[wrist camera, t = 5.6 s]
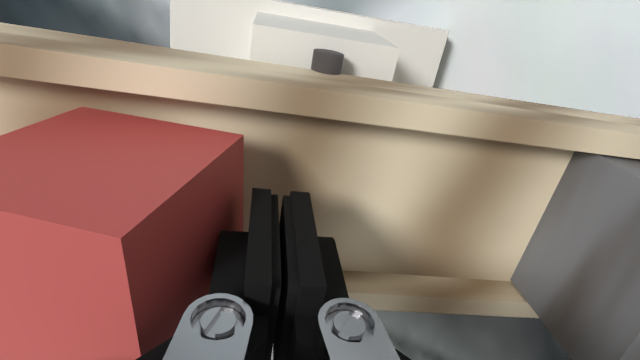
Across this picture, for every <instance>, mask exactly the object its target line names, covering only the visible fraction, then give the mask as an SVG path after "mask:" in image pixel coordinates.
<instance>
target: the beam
mask: <svg viewBox="0 0 640 360" xmlns="http://www.w3.org/2000/svg"><path fill="white" fill-rule="evenodd" d="M343 59H344V54H342V53H340V52H337V51H333V50H327V49H314V51H313V57H312V64H311V69H306V68H299V67H292V66H286V65H279V64H272V63H266V62H259V61H253V60H246V59H239V58H233V57H226V56H219V55H213V54H206V53H199V52H193V51H186V50H179V49H173V48H166V47H159V46H153V45H146V44H140V43H133V42H126V41H120V40H113V39H106V38H100V37H93V36H86V35H80V34H73V33H66V32H60V31H53V30H46V29H40V28H33V27H26V26H20V25H13V24H7V23H0V136H1V135H3V134H6V133H9V132H12V131H15V130H17V129H20V128H23V127H26V126H29V125H31V124H34V123H37V122H40V121H43V120H45V119H48V118H51V117H54V116H57V115H59V114H62V113H65V112H68V111H71V110H74V109H76V108H79V107H82V106H83V107H88V108H94V109H100V110H105V111H111V112H117V113H122V114H128V115H134V116H139V117H145V118H151V119H156V120H162V121H168V122H173V123H179V124H185V125H190V126H196V127H202V128H207V129H213V130H219V131H224V132H230V133H236V134H242V135H244V193H243V232H248V231H249V220H250V209H251V198H252V188H261V189H271V194H275V195H278V204H279V222H280V214H281V207H282V199H283V195H287V196H290V192H291V191H298V192H309V193H310V197H311V203H312V208H313V214H314V219H315V225H316V230H317V236H321V237H333V238H334V240H335V243H336V247H337V251H338V255H339V259H340V263H341V267H342V271H343V276H344V280H345V284H346V288H347V292H348V296H349V298H351V299H355V300H358V301H361V302H362V303H364V304H366V305H368V306H369V307H370V308H371V309H373V310H382V311H402V312H422V313H443V314H463V315H484V316H504V317H524V318H540V319H541V321H542V322H543V323H544V325H545V326H546V327H547V329H548V330H549V331H550V332H551V334H552V335H553V336H554V338H555V339H556V340H557V342H558V343H559V344H560V346H561V347H562V348H563V350H564V351H565V352H566V354H567V355H568V356H569V357H570V359H571V360H640V119H638V118H631V117H625V116H618V115H612V114H605V113H598V112H592V111H585V110H578V109H572V108H565V107H558V106H552V105H545V104H538V103H532V102H525V101H518V100H512V99H505V98H499V97H492V96H485V95H479V94H472V93H465V92H459V91H452V90H445V89H439V88H432V87H425V86H419V85H412V84H405V83H399V82H392V81H385V80H379V79H372V78H366V77H359V76H352V75H346V74H341V70H342V64H343Z"/></svg>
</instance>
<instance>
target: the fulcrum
mask: <svg viewBox="0 0 640 360" xmlns="http://www.w3.org/2000/svg"><path fill="white" fill-rule="evenodd" d="M448 34H449V32H448V31H445V30H442V29H438V28H432V27H427V26H421V25H416V24H410V23H404V22H399V21H393V20H387V19H382V18H376V17H370V16H365V15H359V14H353V13H348V12H342V11H336V10H331V9H325V8H320V7H314V6H308V5H303V4H297V3H291V2H286V1H280V0H170V48H173V49H179V50H186V51H193V52H199V53H206V54H213V55H219V56H226V57H233V58H239V59H246V60H253V61H259V62H266V63H272V64H279V65H286V66H292V67H299V68H306V69H311V64H312V57H313V51H314V49H327V50H333V51H337V52H340V53H342V54H344V59H343V64H342V70H341V74H346V75H352V76H359V77H366V78H372V79H379V80H385V81H392V82H399V83H405V84H412V85H419V86H425V87H432V88H433V84H434V81H435V78H436V74H437V71H438V68H439V64H440V61H441V57H442V54H443V51H444V47H445V44H446V41H447V37H448Z"/></svg>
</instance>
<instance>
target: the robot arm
mask: <svg viewBox="0 0 640 360" xmlns="http://www.w3.org/2000/svg"><path fill="white" fill-rule="evenodd" d="M272 347H273V351H274V352H273V353H274V354H273V357H274V358H273V360H411V359H409V358H408V357H407V356H405V355H404V354H402V353H401V352H399V351H398V350H397V349H395V348H394V346H393V344H392V342H391V340H390V338H389V336H388V334H387V332H386V330H385V328H384V326H383V324H382V322H381V320H380V318H379V317H378V315H377V314H376V312H375V311H374V310H373V309H371V308H370V307H369V306H368V305H366V304H364V303H362V302H361V301H358V300H355V299H351V298H349V296H348V292H347V288H346V284H345V280H344V276H343V271H342V267H341V263H340V259H339V255H338V251H337V247H336V243H335V240H334V238H333V237H321V236H317V230H316V225H315V219H314V214H313V208H312V203H311V197H310V193H309V192H298V191H291V192H290V196H287V195H283V199H282V207H281V214H280V222H279V204H278V195H275V194H271V189H261V188H252V198H251V209H250V220H249V231H248V232H242V231H226V230H221V232H220V237H219V242H218V248H217V253H216V258H215V263H214V269H213V274H212V279H211V285H210V290H209V295H206V296H203V297H201V298H199V299H197V300H195V301H194V302H193V303H192V304H190V305H189V306H188V308H187V309H186V311H185V312H184V314H183V316H182V318H181V320H180V323H179V325H178V327H177V329H176V331H175V333H174V336H172V337H171V338H169V339H167V340H166V341H164V342H163V343H161V344H159V345H158V346H156V347H155V348H153V349H152V350H150V351H148V352H147V353H145V354H144V355H142V356H140V357H139V358H137V359H136V360H271V353H272Z"/></svg>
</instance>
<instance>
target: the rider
mask: <svg viewBox="0 0 640 360" xmlns="http://www.w3.org/2000/svg"><path fill="white" fill-rule="evenodd" d="M243 193H244V135H242V134H236V133H230V132H224V131H219V130H213V129H207V128H202V127H196V126H190V125H185V124H179V123H173V122H168V121H162V120H156V119H151V118H145V117H139V116H134V115H128V114H122V113H117V112H111V111H105V110H100V109H94V108H88V107H83V106H82V107H79V108H76V109H74V110H71V111H68V112H65V113H62V114H59V115H57V116H54V117H51V118H48V119H45V120H43V121H40V122H37V123H34V124H31V125H29V126H26V127H23V128H20V129H17V130H15V131H12V132H9V133H6V134H3V135H1V136H0V360H136V359H137V358H139V357H140V356H142V355H144V354H145V353H147V352H148V351H150V350H152V349H153V348H155V347H156V346H158V345H159V344H161V343H163V342H164V341H166V340H167V339H169V338H171V337H172V336H174V333H175V331H176V329H177V327H178V325H179V323H180V320H181V318H182V316H183V314H184V312H185V311H186V309H187V308H188V306H189V305H190V304H192V303H193V302H194V301H195V300H197V299H199V298H201V297H203V296H206V295H209V290H210V285H211V279H212V274H213V269H214V263H215V258H216V253H217V248H218V242H219V237H220V232H221V230H226V231H242V232H243Z"/></svg>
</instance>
